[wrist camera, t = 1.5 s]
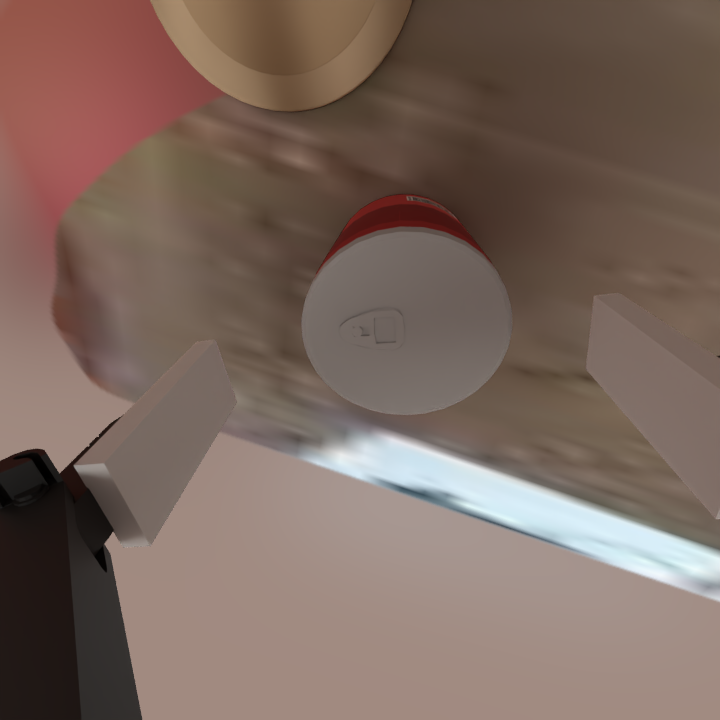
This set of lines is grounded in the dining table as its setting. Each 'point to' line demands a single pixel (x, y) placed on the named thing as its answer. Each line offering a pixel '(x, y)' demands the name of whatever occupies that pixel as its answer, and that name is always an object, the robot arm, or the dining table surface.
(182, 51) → the disc
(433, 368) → the canned food
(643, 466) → the dining table surface
